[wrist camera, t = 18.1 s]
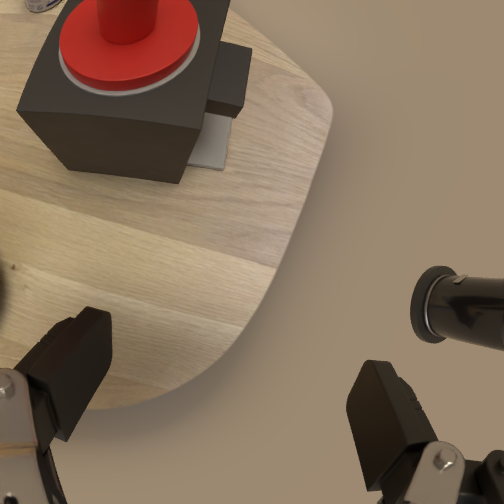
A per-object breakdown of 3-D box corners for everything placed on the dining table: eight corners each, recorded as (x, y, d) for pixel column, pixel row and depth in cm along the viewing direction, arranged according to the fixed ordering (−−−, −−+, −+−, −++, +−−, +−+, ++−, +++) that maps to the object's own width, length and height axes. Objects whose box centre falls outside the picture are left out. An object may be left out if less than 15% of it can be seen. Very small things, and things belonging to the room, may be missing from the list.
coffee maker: (235, 92, 31) (288, 9, 18) (219, 191, 31) (273, 144, 17) (97, 71, 27) (80, -23, 13) (68, 170, 26) (14, 109, 13)
